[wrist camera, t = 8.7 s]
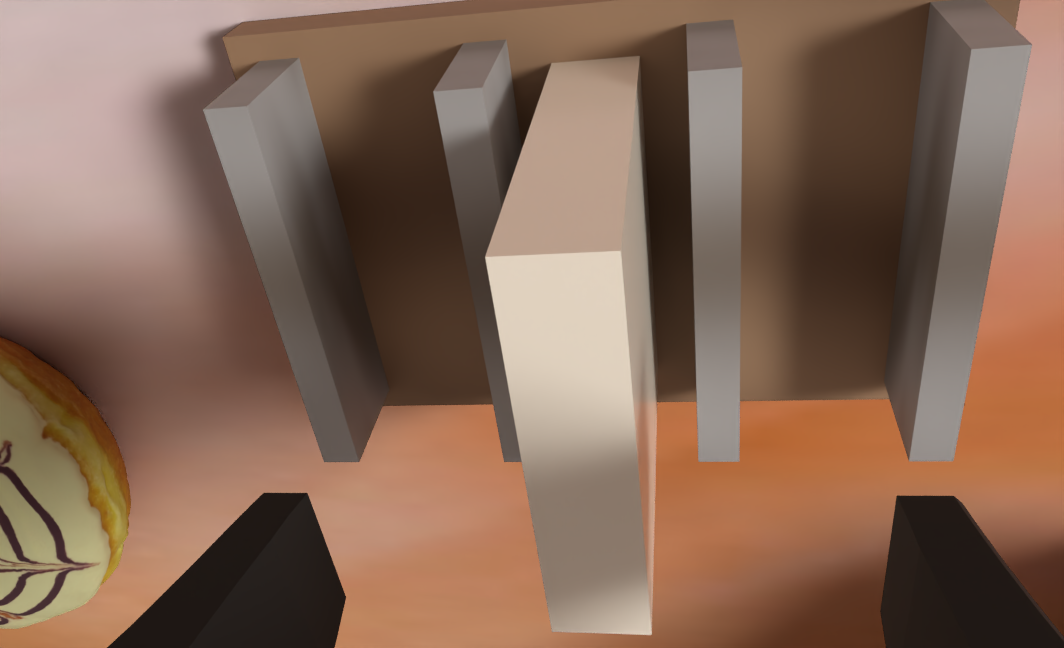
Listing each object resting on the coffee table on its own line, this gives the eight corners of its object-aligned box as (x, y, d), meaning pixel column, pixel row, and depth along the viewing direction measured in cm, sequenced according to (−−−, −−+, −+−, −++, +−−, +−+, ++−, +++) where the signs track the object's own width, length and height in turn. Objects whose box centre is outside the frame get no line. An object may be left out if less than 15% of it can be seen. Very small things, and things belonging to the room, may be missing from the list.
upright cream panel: (658, 367, 20) (651, 635, 14) (586, 368, 20) (551, 632, 14) (639, 55, 16) (620, 250, 10) (551, 63, 16) (484, 256, 10)
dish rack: (938, 370, 20) (982, 480, 17) (351, 381, 22) (304, 478, 20) (1007, -52, 15) (1086, 4, 12) (243, 22, 17) (159, 83, 15)
